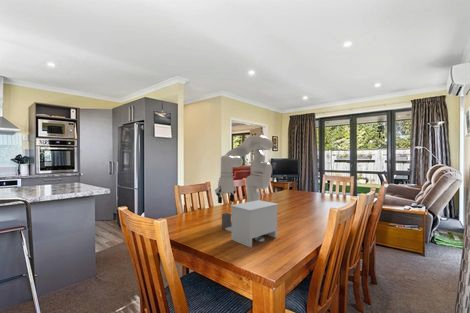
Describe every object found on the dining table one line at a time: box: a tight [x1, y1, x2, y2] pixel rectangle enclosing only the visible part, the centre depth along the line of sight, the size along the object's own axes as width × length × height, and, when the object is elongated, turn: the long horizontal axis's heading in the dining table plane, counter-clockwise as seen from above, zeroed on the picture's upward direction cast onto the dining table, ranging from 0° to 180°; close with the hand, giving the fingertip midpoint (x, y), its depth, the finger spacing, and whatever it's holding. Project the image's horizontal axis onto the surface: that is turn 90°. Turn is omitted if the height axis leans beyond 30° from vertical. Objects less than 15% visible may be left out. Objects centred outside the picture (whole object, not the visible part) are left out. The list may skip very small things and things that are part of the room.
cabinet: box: [230, 199, 279, 248], centre depth 129 cm, size 23×15×19 cm, turn 132°
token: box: [254, 235, 266, 243], centre depth 126 cm, size 5×5×2 cm
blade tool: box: [221, 212, 232, 233], centre depth 140 cm, size 5×24×9 cm, turn 42°
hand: (225, 202), depth 147 cm, fingers open, 9 cm apart
